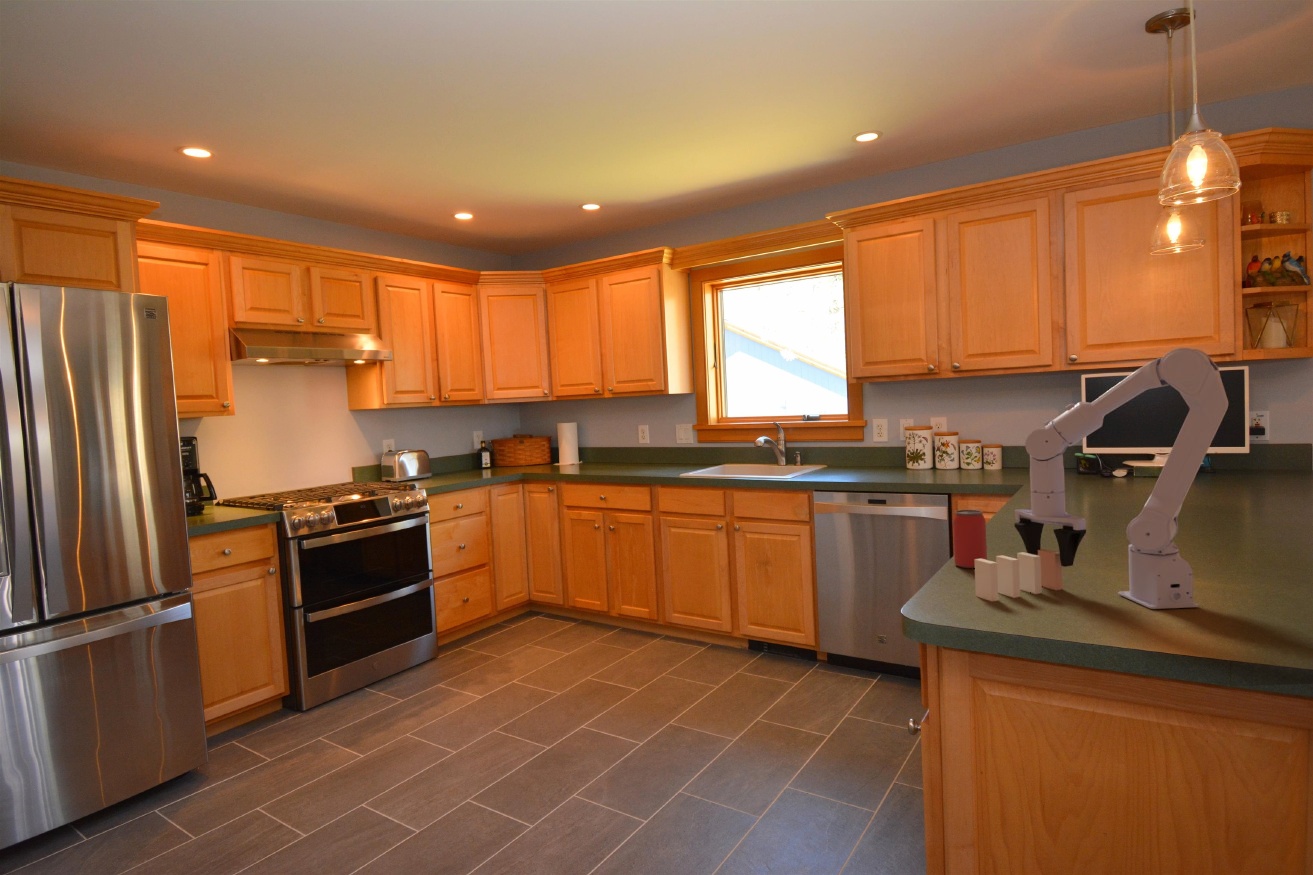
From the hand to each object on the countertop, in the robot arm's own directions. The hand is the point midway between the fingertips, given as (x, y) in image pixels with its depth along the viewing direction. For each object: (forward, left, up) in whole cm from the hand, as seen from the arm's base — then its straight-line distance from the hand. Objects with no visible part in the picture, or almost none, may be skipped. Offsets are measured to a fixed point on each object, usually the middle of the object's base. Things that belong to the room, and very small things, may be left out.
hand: (1050, 561), depth 134 cm
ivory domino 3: (-2, +5, -5) cm, 7 cm away
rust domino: (0, 0, -5) cm, 5 cm away
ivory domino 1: (-5, +14, -5) cm, 16 cm away
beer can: (+19, +8, -5) cm, 22 cm away
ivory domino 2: (-3, +9, -5) cm, 11 cm away
